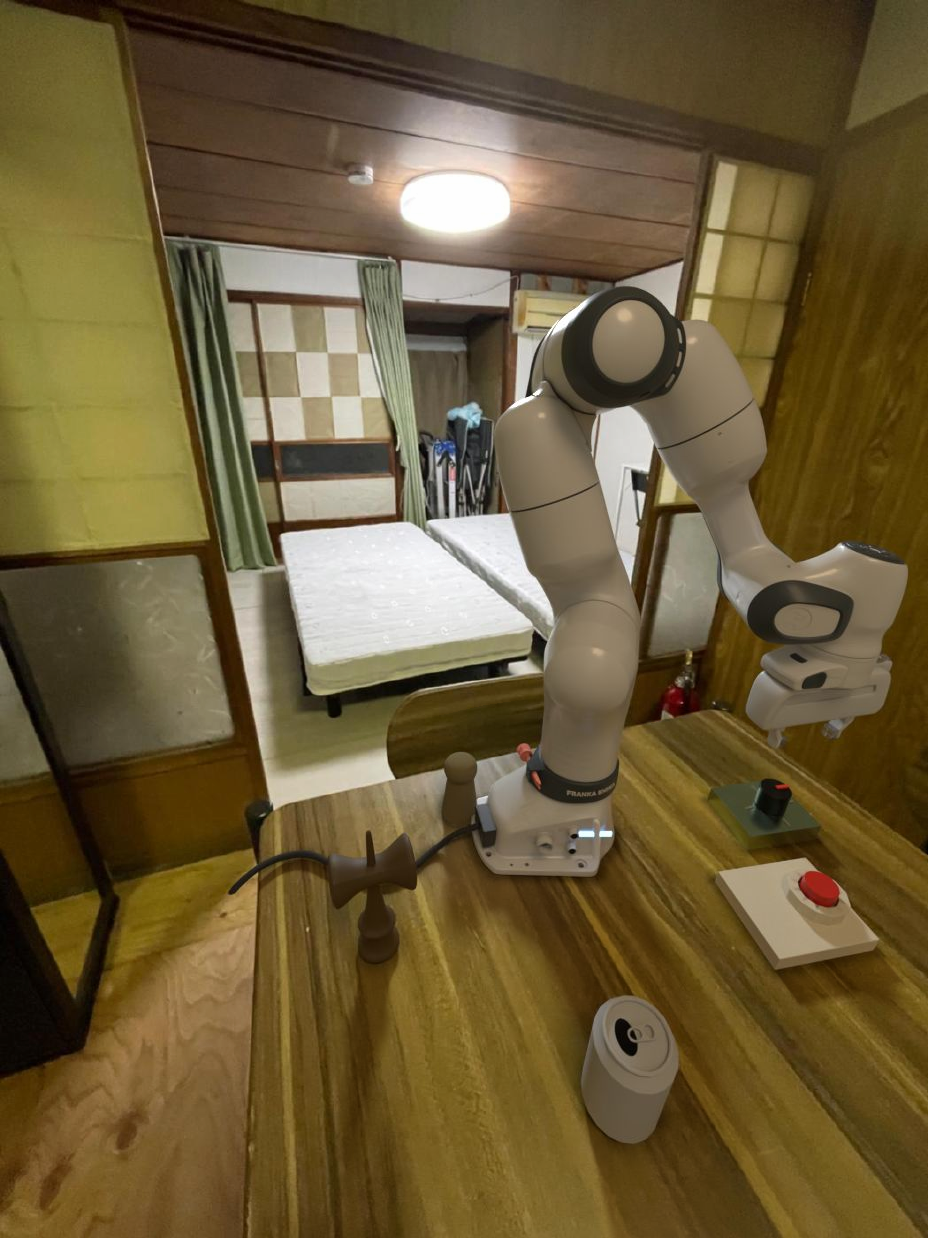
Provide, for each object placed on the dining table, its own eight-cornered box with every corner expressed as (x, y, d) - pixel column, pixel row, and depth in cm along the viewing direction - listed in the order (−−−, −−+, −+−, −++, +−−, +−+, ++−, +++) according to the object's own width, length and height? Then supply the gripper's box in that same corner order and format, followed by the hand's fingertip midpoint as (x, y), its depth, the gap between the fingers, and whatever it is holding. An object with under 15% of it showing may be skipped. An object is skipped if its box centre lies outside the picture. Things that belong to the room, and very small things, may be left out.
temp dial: (767, 817, 79) (774, 799, 78) (748, 796, 83) (754, 778, 81) (792, 813, 80) (799, 795, 78) (772, 793, 84) (778, 775, 82)
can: (571, 1055, 54) (584, 989, 49) (639, 1048, 55) (660, 983, 49) (593, 1152, 47) (611, 1089, 42) (671, 1144, 48) (699, 1080, 43)
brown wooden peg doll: (475, 829, 80) (477, 775, 76) (437, 823, 81) (437, 770, 76) (480, 800, 86) (483, 749, 81) (445, 795, 87) (445, 743, 82)
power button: (815, 909, 65) (820, 900, 64) (792, 881, 69) (796, 872, 68) (843, 904, 66) (847, 895, 65) (818, 877, 69) (822, 868, 68)
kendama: (422, 956, 63) (418, 841, 54) (342, 982, 60) (324, 865, 51) (411, 911, 68) (406, 800, 59) (337, 934, 65) (320, 820, 56)
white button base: (774, 970, 62) (784, 950, 60) (714, 882, 72) (721, 862, 71) (873, 950, 64) (885, 930, 62) (801, 867, 75) (809, 848, 73)
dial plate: (746, 850, 77) (751, 835, 76) (707, 800, 86) (711, 786, 85) (815, 839, 79) (822, 825, 78) (770, 792, 88) (775, 778, 87)
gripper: (874, 641, 74) (842, 718, 80) (751, 656, 70) (728, 736, 77) (917, 664, 69) (879, 745, 75) (786, 681, 65) (758, 765, 71)
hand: (802, 740), depth 76 cm, fingers open, 8 cm apart
